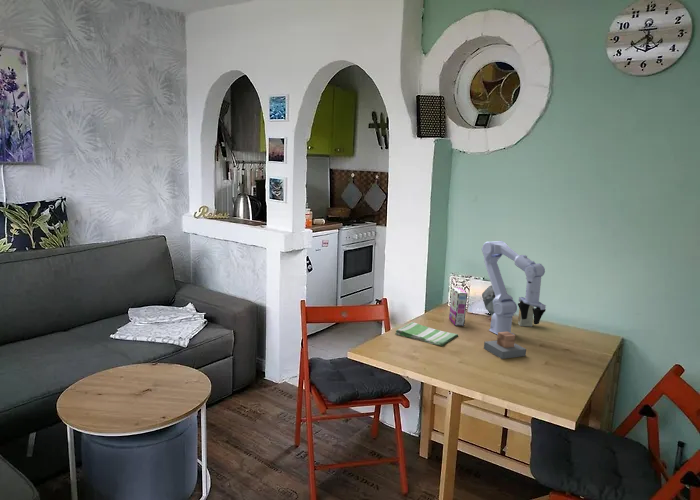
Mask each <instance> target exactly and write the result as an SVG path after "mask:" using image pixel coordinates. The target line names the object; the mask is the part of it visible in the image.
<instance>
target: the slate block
mask: <svg viewBox="0 0 700 500" xmlns="http://www.w3.org/2000/svg"><path fill="white" fill-rule="evenodd" d="M483 349H484V350H486V351H488V352H489V353H491V354H492V355H494V356H495V357H498V358H500V359H501V360H502V359H503V360H504V359H510V358H511V359H512V358H519V357H526V354H527V353H526V352H527V348H525V347H523V346H521V345H519V344H517V343H514V347H508V348H504V347H502V346H500V345H498V344H497V339H496V340H488V341H487V340H486V341H484V343H483Z"/></svg>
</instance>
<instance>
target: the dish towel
mask: <svg viewBox="0 0 700 500" xmlns="http://www.w3.org/2000/svg"><path fill="white" fill-rule="evenodd" d="M395 335H398V336H402V337H405V338H409V339H413V340H417V341H421V342H424V343H427V344H430V345H435V346H441V347H443V346H445V344H446V343H449V342H450V341H452V340H453V339H454V338H457V337H459V334H458V333H453V332H448V331H443V330H440V329H435V328H433V327H430V326H426V325H422V324H420V323H416V322H414V321H412V322H410V323H408V324H406V325H404V326H402V327H400V328H398V329H396V330H395Z"/></svg>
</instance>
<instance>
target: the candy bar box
mask: <svg viewBox="0 0 700 500" xmlns="http://www.w3.org/2000/svg"><path fill="white" fill-rule="evenodd" d="M450 294H451V296H450V302H449V303H450V304H449V305H450V306H449V315H448V320H449V321H450V322H451V323H452V324H453V325H454V326H456V327H457V326H458V327H459V326H460V327H464V326H465V324H466V323H465V322H466V319H465V318H466V313H467V311H466V310H467V303H468V293H467V292H466V291H465V290H464V289H462V288H461V287H451V293H450Z"/></svg>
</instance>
